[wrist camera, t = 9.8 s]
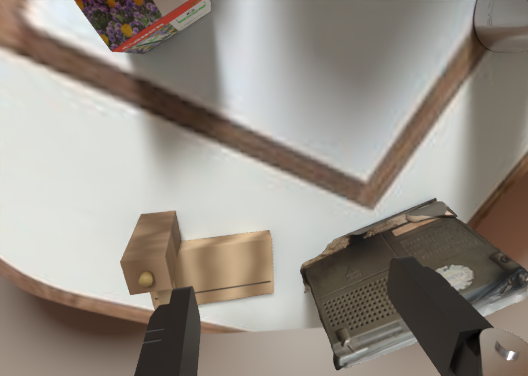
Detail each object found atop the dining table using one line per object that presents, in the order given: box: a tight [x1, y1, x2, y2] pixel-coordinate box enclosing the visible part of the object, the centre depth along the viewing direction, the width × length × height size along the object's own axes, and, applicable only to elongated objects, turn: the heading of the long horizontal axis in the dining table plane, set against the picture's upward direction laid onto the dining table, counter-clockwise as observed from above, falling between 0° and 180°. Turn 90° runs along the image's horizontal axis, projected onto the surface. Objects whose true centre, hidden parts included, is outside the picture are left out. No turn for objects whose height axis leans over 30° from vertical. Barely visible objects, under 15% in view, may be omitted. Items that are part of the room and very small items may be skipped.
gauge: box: [120, 211, 180, 305], centre depth 33 cm, size 4×12×10 cm, turn 3°
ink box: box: [75, 0, 211, 54], centre depth 21 cm, size 4×8×15 cm, turn 119°
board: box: [150, 230, 274, 310], centre depth 39 cm, size 16×9×2 cm, turn 93°
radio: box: [300, 198, 528, 370], centre depth 36 cm, size 23×9×15 cm, turn 108°
